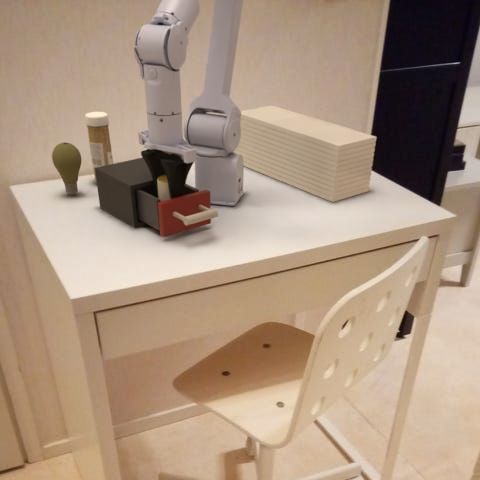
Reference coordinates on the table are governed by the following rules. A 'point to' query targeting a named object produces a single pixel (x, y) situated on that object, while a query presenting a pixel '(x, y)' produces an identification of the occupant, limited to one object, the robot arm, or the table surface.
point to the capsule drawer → (174, 210)
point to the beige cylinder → (163, 188)
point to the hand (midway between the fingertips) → (169, 195)
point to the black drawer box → (122, 188)
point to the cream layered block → (306, 152)
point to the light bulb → (67, 165)
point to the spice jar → (99, 139)
